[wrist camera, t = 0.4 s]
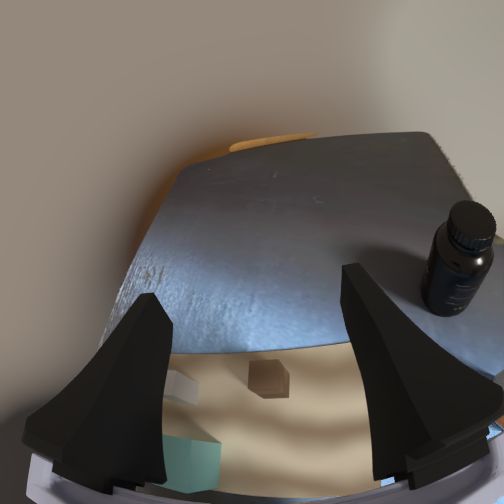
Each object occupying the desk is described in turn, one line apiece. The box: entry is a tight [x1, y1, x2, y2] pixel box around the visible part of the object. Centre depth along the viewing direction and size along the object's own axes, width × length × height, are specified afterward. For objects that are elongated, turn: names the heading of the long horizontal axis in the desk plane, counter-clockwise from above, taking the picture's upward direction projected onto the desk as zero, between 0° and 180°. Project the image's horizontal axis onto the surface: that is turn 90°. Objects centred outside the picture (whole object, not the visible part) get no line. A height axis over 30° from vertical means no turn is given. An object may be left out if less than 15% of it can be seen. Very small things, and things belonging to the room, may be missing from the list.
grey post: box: [163, 370, 200, 405], centre depth 26 cm, size 3×3×5 cm
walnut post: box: [247, 359, 290, 399], centre depth 24 cm, size 3×3×5 cm
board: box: [162, 342, 381, 498], centre depth 24 cm, size 16×24×1 cm, turn 86°
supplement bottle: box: [421, 200, 496, 317], centre depth 21 cm, size 7×7×12 cm
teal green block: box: [152, 434, 222, 493], centre depth 20 cm, size 5×5×6 cm
